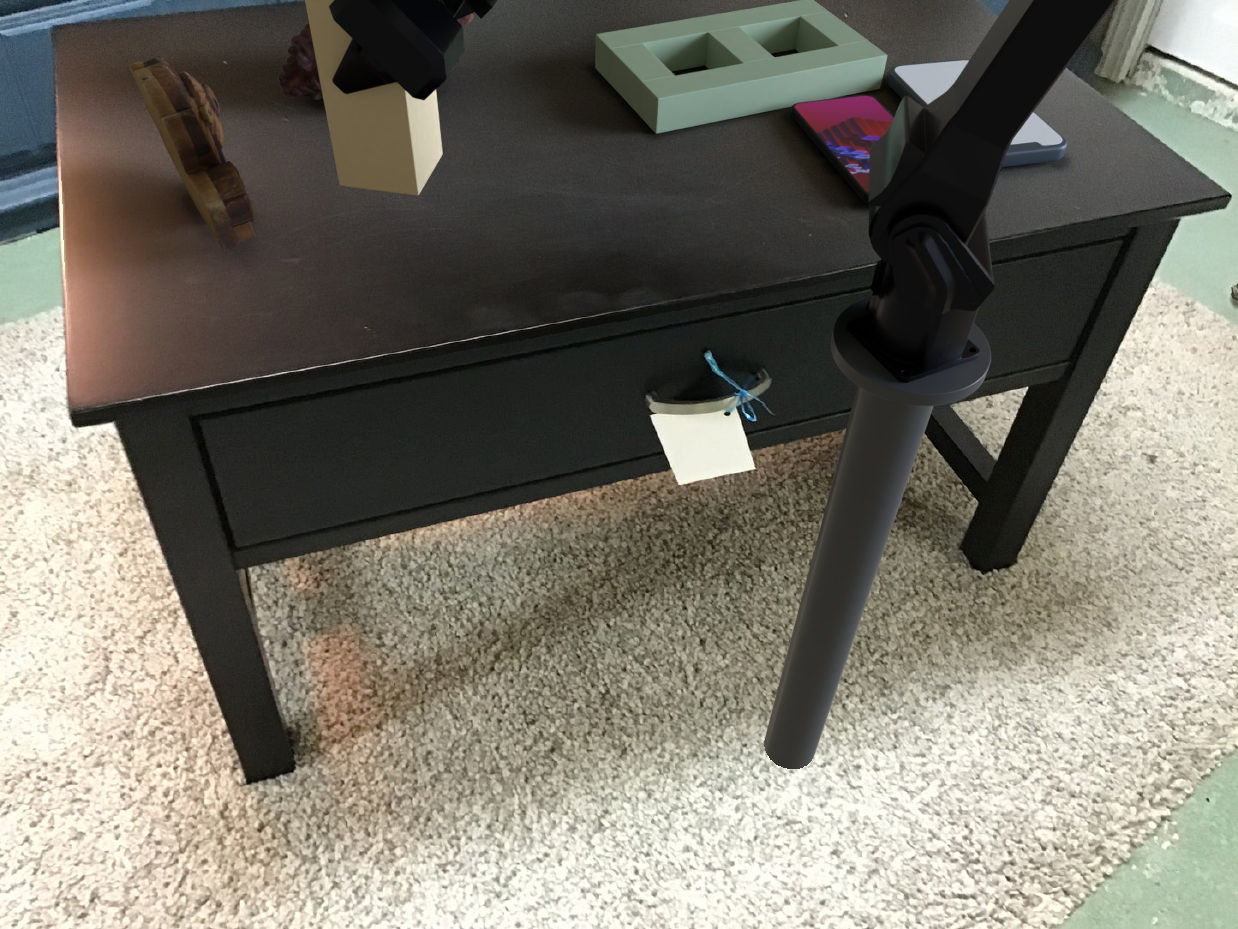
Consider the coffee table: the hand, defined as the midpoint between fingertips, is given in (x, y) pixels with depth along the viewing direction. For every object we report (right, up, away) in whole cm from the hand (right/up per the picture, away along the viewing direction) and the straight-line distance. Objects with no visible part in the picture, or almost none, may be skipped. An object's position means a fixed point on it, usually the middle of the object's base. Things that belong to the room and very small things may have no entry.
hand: (355, 65), depth 62 cm
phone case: (+45, +4, +24) cm, 51 cm away
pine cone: (-4, +7, +24) cm, 26 cm away
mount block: (+26, +9, +27) cm, 39 cm away
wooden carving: (-13, -6, +11) cm, 18 cm away
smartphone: (+35, 0, +19) cm, 40 cm away
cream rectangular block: (+1, -5, +5) cm, 7 cm away
